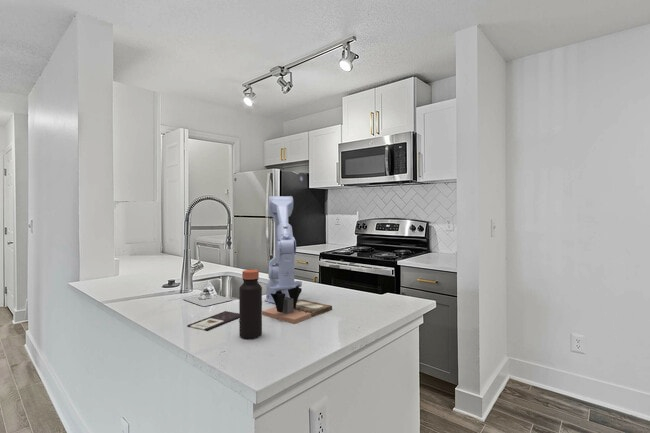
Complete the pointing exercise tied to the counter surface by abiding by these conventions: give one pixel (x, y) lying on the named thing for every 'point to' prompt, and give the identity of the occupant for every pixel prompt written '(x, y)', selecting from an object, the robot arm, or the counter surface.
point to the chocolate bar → (214, 321)
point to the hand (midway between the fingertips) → (286, 309)
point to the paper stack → (205, 302)
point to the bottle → (250, 305)
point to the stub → (287, 312)
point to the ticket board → (312, 307)
